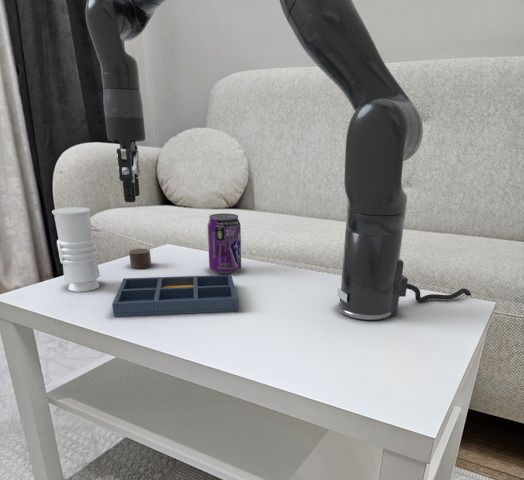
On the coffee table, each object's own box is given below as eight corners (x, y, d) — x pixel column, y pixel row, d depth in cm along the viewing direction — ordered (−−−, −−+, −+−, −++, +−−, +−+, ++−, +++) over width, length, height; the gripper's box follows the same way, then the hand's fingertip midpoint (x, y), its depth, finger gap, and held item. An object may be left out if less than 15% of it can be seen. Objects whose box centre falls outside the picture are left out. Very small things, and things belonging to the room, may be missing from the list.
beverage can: (226, 277, 102) (225, 220, 96) (202, 271, 105) (199, 216, 100) (247, 270, 107) (247, 215, 101) (224, 264, 110) (222, 211, 105)
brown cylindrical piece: (152, 263, 111) (150, 248, 110) (150, 268, 107) (149, 253, 106) (132, 263, 111) (130, 248, 109) (129, 269, 107) (128, 253, 105)
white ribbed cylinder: (61, 285, 96) (46, 209, 89) (95, 279, 100) (83, 206, 93) (71, 294, 91) (57, 214, 84) (106, 288, 95) (95, 210, 88)
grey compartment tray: (231, 286, 96) (231, 274, 95) (237, 311, 83) (237, 298, 82) (124, 290, 94) (123, 278, 93) (113, 316, 81) (112, 303, 80)
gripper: (139, 115, 90) (147, 204, 97) (146, 115, 102) (152, 194, 109) (98, 115, 89) (109, 204, 96) (110, 114, 101) (119, 194, 108)
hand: (132, 198), depth 103 cm, fingers open, 8 cm apart
